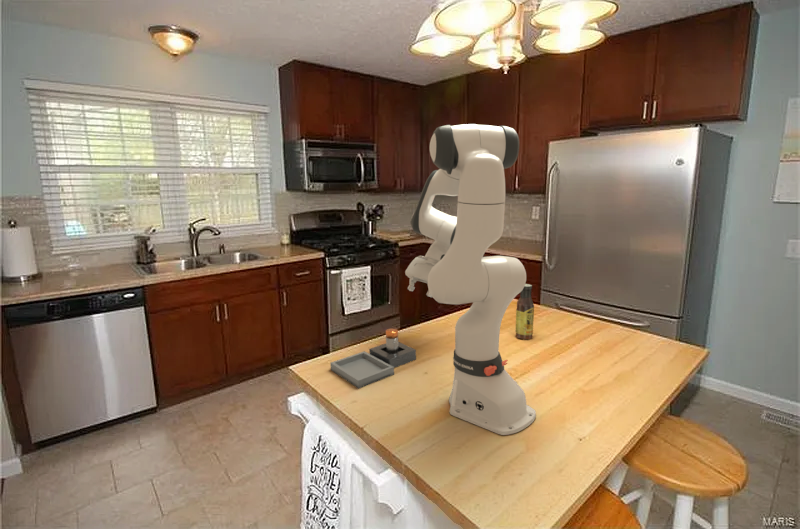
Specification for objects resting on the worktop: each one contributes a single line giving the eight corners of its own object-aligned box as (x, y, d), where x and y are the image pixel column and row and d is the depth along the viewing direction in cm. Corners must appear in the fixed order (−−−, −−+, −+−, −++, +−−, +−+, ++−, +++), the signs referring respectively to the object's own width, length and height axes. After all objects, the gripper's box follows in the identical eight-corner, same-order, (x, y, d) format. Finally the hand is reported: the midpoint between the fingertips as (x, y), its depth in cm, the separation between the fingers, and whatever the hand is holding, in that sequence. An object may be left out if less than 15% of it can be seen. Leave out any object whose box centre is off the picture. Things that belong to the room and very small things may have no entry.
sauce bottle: (529, 341, 147) (531, 288, 143) (512, 338, 151) (514, 286, 146) (535, 335, 152) (537, 284, 148) (519, 332, 156) (520, 282, 152)
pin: (401, 359, 135) (400, 330, 133) (391, 362, 133) (390, 334, 131) (393, 355, 138) (392, 327, 136) (384, 359, 136) (383, 330, 134)
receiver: (416, 359, 135) (415, 349, 134) (389, 369, 128) (389, 359, 127) (395, 349, 143) (395, 340, 142) (369, 358, 136) (369, 348, 136)
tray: (394, 374, 125) (393, 367, 124) (358, 388, 117) (358, 380, 116) (364, 358, 137) (364, 351, 136) (330, 369, 129) (330, 362, 128)
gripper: (412, 250, 148) (394, 282, 145) (454, 259, 133) (435, 295, 130) (422, 259, 152) (404, 291, 149) (464, 268, 137) (445, 304, 134)
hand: (419, 293), depth 139 cm, fingers open, 8 cm apart
